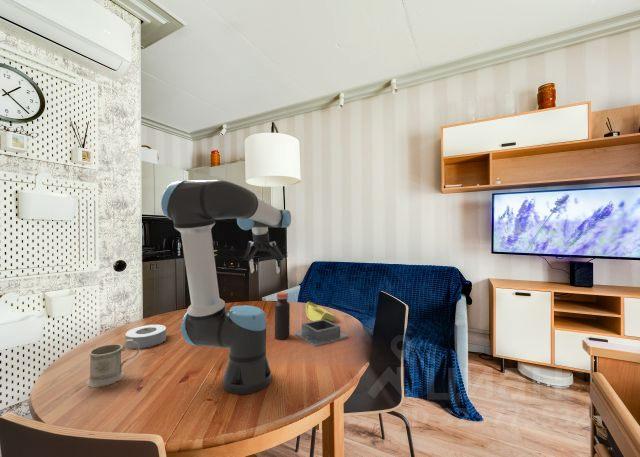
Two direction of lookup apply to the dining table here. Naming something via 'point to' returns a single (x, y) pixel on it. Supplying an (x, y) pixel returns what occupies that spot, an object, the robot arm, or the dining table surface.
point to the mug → (107, 364)
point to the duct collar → (320, 332)
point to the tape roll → (146, 336)
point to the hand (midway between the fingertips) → (265, 272)
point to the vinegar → (282, 317)
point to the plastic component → (318, 313)
